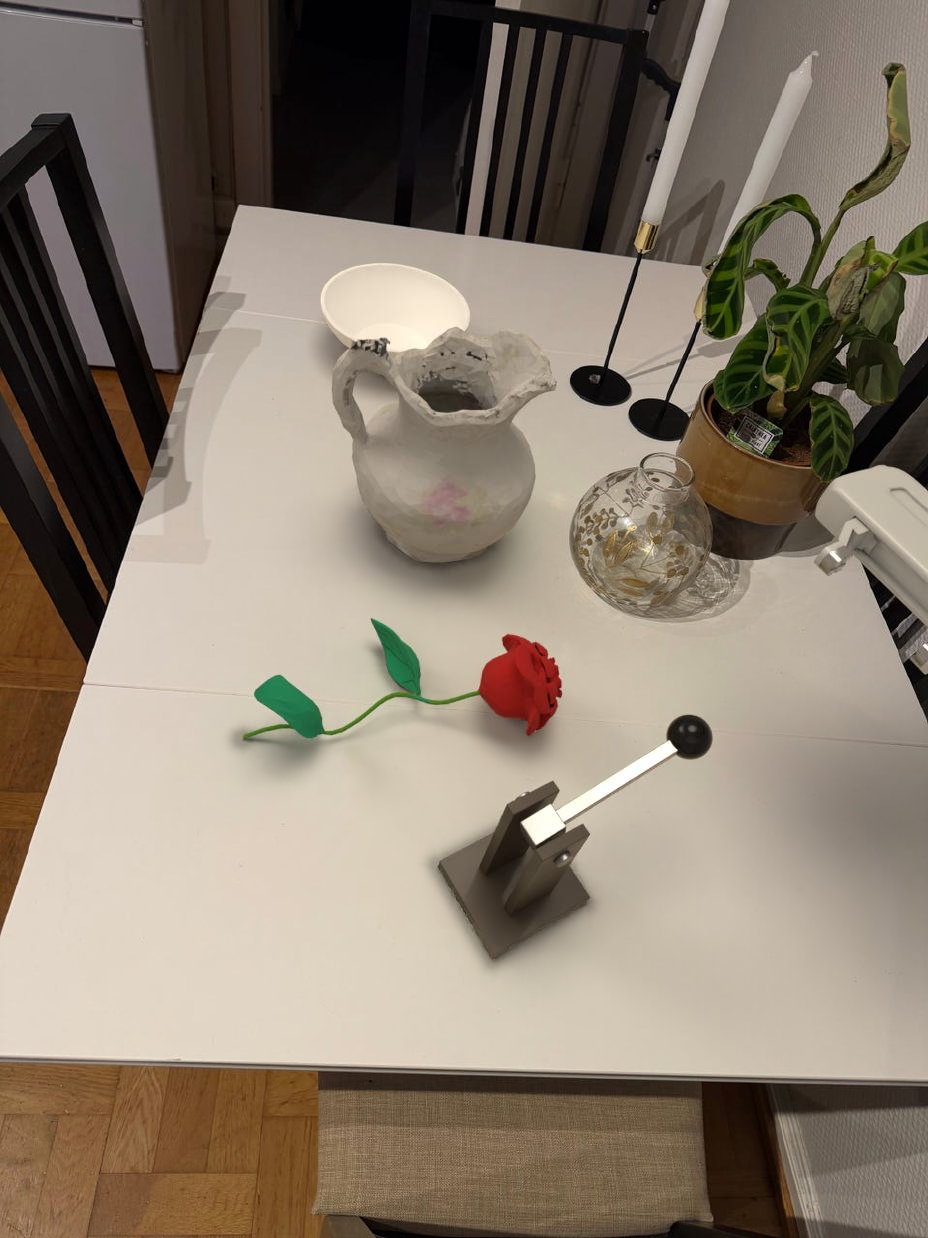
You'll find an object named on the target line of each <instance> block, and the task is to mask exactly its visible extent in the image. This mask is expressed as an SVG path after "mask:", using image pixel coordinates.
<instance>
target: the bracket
mask: <svg viewBox="0 0 928 1238" xmlns="http://www.w3.org/2000/svg"><path fill="white" fill-rule="evenodd" d="M560 792H561V790H560V788H559V786H557V783H556V782H555V781H554V780H551V781H548V782H546V783H545V784H543V785H541V786H539V787H537V788H535V789H533V790H532V791H525V792H523V793H521V794H519V795H518V796H517V797H516V798H515V799H514V800H512V801H511V802H508V803H506V805H505V807H504V810H503V812H502V814H501V816H500V818H499V821H498V823H497V825H496V828H495V830H494V831H493V832H492V833H490V834H488V835H486V836H484V837H482V838H480V839H478V840H477V841H475V842H472V843H471V844H469V845H467V846H465V847H463V848H461V849H459V850H458V851H456V852H454V853H451V854H450V855H448V856H447V857H444V858H442V859H441V860H439V862H438V865H437V867H438V869H439V870H440V872H441V874H442V875H443V877H444V879H445V881H446V882H447V884H448V886H449V887H450V889H451V891H452V893H453V894H454V896H455V898H456V899H457V901H458V903H459V905H460V906H461V908H462V910H463V911H464V913H465V915H466V916H467V919H468V920H469V923H471V925H472V927H473V929H474V930H475V932H476V934H477V936H478V937H479V939H480V940H481V942H482V944H483V946H484V947H485V949H486V951H487V953H488V955H489V956H490V958H491V959H492V960H493V959H495V958H496V957H498V956H499V955H501V954H503V953H505V952H506V951H508V950H510V949H511V948H513V947H515V946H516V945H518V944H520V943H521V942H523V941H525V940H526V939H528V938H529V937H531V936H533V935H534V934H536V933H538V932H540V931H541V930H543V929H545V928H546V927H548V926H550V925H551V924H553V923H555V922H556V921H558V920H560V919H561V918H562V917H563V918H564V916H566V915H568V914H570V913H571V912H573V911H575V910H576V909H578V908H579V907H581V906H583V905H585V904H586V903H588V902H589V900H590V898H591V896H590V894H589V893H588V891H587V890H586V888H585V887H584V885H583V884H582V882H581V881H580V880H579V878H578V877H577V875H576V874H575V872H574V871H573V869H572V867H571V866H570V865H571V864H572V862H573V861H574V859H575V858H576V856H577V855H578V854H579V852H580V850H582V847H583V846H584V844H585V843H586V841H587V840H588V839H589V837H590V836H591V833H590V831H589V830H588V829H587V827H586V825H585V824H584V823H581V824H578V825H577V826H575V827H573V828H571V829H570V830H568V831H566V833H564V834H563V835H561V836H559V837H557V838H555V839H554V840H552V841H550V842H548V843H546V844H545V845H543V846H541V847H539V848H537V849H536V850H535V852H534V851H533V850H532V848H531V847H530V845H529V844H528V842H527V841H526V839H525V837H524V836H523V834H522V833H521V831H520V822H521V821H523V820H524V819H526V818H527V817H529V816H531V815H532V814H534V813H535V812H537V811H539V810H540V809H542V808H543V807H545V806H547V805H548V804H550V803H551V804H552V805H553V804H554V802H555V801H556V799H557V797H558V795H559V793H560Z"/></svg>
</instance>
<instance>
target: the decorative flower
mask: <svg viewBox="0 0 928 1238" xmlns="http://www.w3.org/2000/svg"><path fill="white" fill-rule="evenodd" d="M370 622H371V624H372V626H373V628H374V630H375V633H376V634H377V637H378V639H379V641H380V643H381V647H382V649H383V652H384V656H385V663H386V668H387V671H388V674H389V675H390V677H391V679H393V681H395V682H396V683H397V684H398V685H400V686H402V687H403V688H405V689H406V690H407V691H408V692H404V691H397V692H392V693H389V694H387V695H385V696H384V697H382V698H380V699H379V700H377V701H376V702H375V703H374V704H373V705H371V706H370V707H369V708H368V709H366V711H364V712H363V713H362V714H360V715H359V716H357V718H355V719H353V720H352V721H351V722H349V723H347V724H345V725H343V726H342V727H340V728H336V729H333V730H325V728H324V725H323V716H322V713H321V710H320V707H319V706H318V705H317V704H316V703H315V702H314V701H313V700H312V699H311V698H310V697H308V696H307V694H305V693H304V692H303V691H301V690H300V689H299V688H297V687H296V686H295V685H293V684H292V683H291V682H290V681H289V680H287V678H286V677H284V676H283V675H281V674H275V675H274V676H272V677H271V676H270V677H269V678H268V679H266V680H265V681H264V682H263V683H262V684H260V685H259V686H258V687H257V688H256V689H254V692H253V696H254V698H255V699H256V701H257V702H258V703H260V704H262V705H263V706H265V707H266V708H267V709H269V710H271V711H272V712H274V713H275V714H276V715H278V716H279V717H280V718H282V719H283V720H284V721H285V722H286V723H278V724H273V725H269V726H264V727H261V728H259V729H255V730H253V731H249V732H247V733H245V734H243V735H242V740H245V739H249V738H251V737H254V736H257V735H260V734H263V733H267V732H272V731H276V730H277V731H278V730H284V729H285V730H286V729H288V730H289V729H290V730H294V731H296V733H298V734H299V735H300V736H301V737H302V738H305V739H316V738H317V737H318V736H319V735H320V736H321V735H325V736H335V735H338V734H342V733H344V732H345V731H347V730H349V729H351V728H352V727H354V726H355V725H357V724H358V723H361V722H362V721H363V720H364V719H365V718H366V717H367V716H369V715H371V713H372V712H374V711H375V710H376V709H377V708H378V707H380V706H381V705H383V704H384V703H386V702H387V701H389V700H392V699H395V698H409V699H412V700H416V701H418V702H422V703H424V704H428V705H432V706H441V705H450V704H452V703H456V702H460V701H462V700H466V699H469V698H473V697H477V696H479V697H481V699H482V700H483V701H484V702H485V703H486V704H487V706H488V707H489V708H490V709H491V710H492V711H493V713H494V714H495V715H497V716H499V717H502V718H503V719H515V720H516V719H518V720H521V721H525V722H526V723H527V727H526V730H525V736H526V737H527V738H528V737H530V736H532V735H533V734H534V733H535V732H537V731H540V730H541V729H542V728H544V727H545V726H546V725H547V723H548V722H549V720H550V719H551V718H552V717H553V716H554V715H555V713H556V712H557V710H558V708H559V702H558V699H557V698H559V699H561V698H562V697H563V690H562V689H561V688H562V686H563V682H562V679H561V678H560V676H559V675H560V669H559V668H560V667H559V665H558V664H556V658H555V656H553V657H549V652H548V650H547V648H545V646H543V645H542V643H539V642H537V641H533V642H531V641H530V640H529V639H527V638H525V637H523V636H520V635H517V634H511V633H507V634H505V635H503V636H502V637H501V641H502V646H503V648H504V649H505V651H506V652H505V653H502V654H500V655H498V656H496V657H493V658H491V659H490V660H489V661H488V662H486V663H485V665H484V667H483V669H482V670H481V677H480V682H479V687H478V689H477V690H475V691H471V692H467V693H465V694H462V695H458V696H455V697H451V698H448V699H441V700H440V699H439V700H438V699H436V700H435V699H428V698H425V697H423V696H422V695H421V693H422V689H421V666H420V659H419V658H418V655H417V654H416V652H415V651H414V650H413V648H412V647H411V646H410V645H408V644H407V643H406V642H405V641H403V640H402V639H401V637H400V636H399V635H398V634H397V633H396V631H394V630H393V629H392V628H391V627H389V626H388V625H386V624H385V623H383V622H380V621H379V620H377V619H375V618H372V617H370ZM548 657H549V658H548Z"/></svg>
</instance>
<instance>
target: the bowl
mask: <svg viewBox="0 0 928 1238" xmlns="http://www.w3.org/2000/svg"><path fill="white" fill-rule="evenodd" d="M319 302H320V307H321V311H322V315H323V318H324V320H325V322H326V324H327V326H328V328H329V329H330V331H331V332H332V333H333V334H334V336H335V337H336V338H337V339H338V340H339V341H340V342H341V343H342V344H343V345H344V346H345V347H347V348H348V349H349V348H350V347H351V344H352V341H354V342H356V341H357V340H358V339H361V340H365V339H380V337H381V338H387V339H388V340H389V341H390V345H389V343H388V344H387V352H388V354H389V355H390V357H391V359H393V358H394V357H395V356H396V355H397V354H398V353H400V352H403V351H406V350H409V349H414V348H417V349H425V348H427V347H428V345H429V344H430V343H431V342H432V341H433V340H434V339H435V338H437V337H438V336H440V335H441V334H443V333H444V332H445V331H446V330H448V329H450V328H453V327H458V328H460V329H462V330H463V331H465V332H466V333H467V331H468V328H469V326H470V322H471V309H470V307H469V304H468V302H467V300H466V299H465V297H464V296H463V295H462V293H461V292H460V291H459V290H458V289H457V288H456V287H455V286H454V285H452V284H451V283H450V282H448V281H447V280H445V279H444V278H442V277H440V276H438V275H436V274H434V273H432V272H429V271H427V270H424V269H421V268H418V267H414V266H410V265H406V264H399V263H391V262H390V263H389V262H388V263H385V262H375V263H366V264H365V263H364V264H359V265H355V266H352V267H349V268H346V269H343V270H342V271H340V272H338V273H336V274H335V275H333V276H332V277H330V279H329V280H328V281H327V282H326V283H324V286H323V288H322V290H321V292H320V300H319ZM358 341H359V340H358Z"/></svg>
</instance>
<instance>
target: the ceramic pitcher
mask: <svg viewBox="0 0 928 1238" xmlns="http://www.w3.org/2000/svg"><path fill="white" fill-rule="evenodd" d="M358 340H359V341H358ZM358 340H357V341H356V342H354V341H352V344H351V347H350V348H348V349H346V350H345V351H344V352H343V353H342V354H341V355H340V356H339V357H338V358H337V360H336V362H335V364H334V367H333V370H332V372H331V373H332V375H331V398H332V404H333V407H334V409H335V411H336V413H337V415H338V417H339V420H340V422H341V425H342V427H343V429H345V430H346V431H347V432H348V433H349V434H350V438H351V439H352V446H351V447H352V453H351V460H352V464H353V467H354V472H355V476H356V483H357V487H358V492H359V495H360V498H361V500H362V502H363V505H364V506H365V508H366V510H367V511H368V513H369V514H370V515H371V516H372V517H373V519H374V520H375V521H376V522H377V524H378V525H379V526H380V527H381V528H382V529H383V530H384V532H385V538H386V539H387V541H389V543H391V544H392V545H393V546H395V547H396V548H397V549H398V550H399V551H401V552H402V553H404V554H405V555H406V556H407V557H409V558H410V559H411V560H413V561H414V562H421V563H422V562H423V563H449V562H456V561H462V560H468V559H471V558H477V557H479V556H480V555H481V554H483V553H484V552H485V551H486V550H488V549H490V548H491V546H492V544H494V543H495V542H497V541H498V540H500V538H502V537H504V536H505V535H506V534H507V533H509V532H510V531H511V530H512V529H513V528H514V527H515V525H516V524H517V523H518V521H519V520H520V518H521V517H522V515H523V514H524V512H525V511H526V508H527V507H528V505H529V502H530V500H531V497H532V494H533V491H534V487H535V484H536V483H535V482H536V476H537V475H536V463H535V460H534V456H533V453H532V448H531V445H530V444H529V442H528V440H527V438H526V436H525V434H524V432H522V430H521V429H520V428H519V427H518V426H517V425H516V424H515V423H514V422H513V420H514V418H515V417H516V416H517V414H518V413H519V412H520V411H521V410H522V409H523V408H524V407H525V406H526V405H527V404H528V403H529V402H531V401H532V400H533V399H536V397H538V396H540V395H542V394H545V393H548V392H553V391H557V390H556V389H557V380H556V379H555V378H554V376H553V375H552V373H553V372H552V371H551V364H550V363H551V362H550V360H549V358H548V356H547V354H546V353H545V352H544V351H543V349H542V348H541V347H540V346H539V345H538V344H537V342H536V341H535V340H534V339H533V338H532V337H531V335H530V334H528V333H524V332H521V331H517V330H508V329H507V330H502V331H501V330H500V331H499V332H497V333H495V334H494V335H492V336H489V337H486V338H481V337H479V336H476V335H473V334H470V333H468V332H467V331H466V332H465V331H463V330H462V329H460V328H458V327H453V328H450V329H448V330H446V331H445V332H444V333H443V334H441V335H440V336H438V337H437V338H435V339H434V340H433V341H432V342H431V343H430V344H429V345H428V347H427V348H425V349H417V348H414V349H409V350H406V351H403V352H400V353H398V354H397V355H396V356H395V357H394V358H393V359H391V357H390V355H389V354H388V352H387V344H388V343H389V345H390V341H389V340H388V339H387V338H381V337H380V339H365V340H361V339H358ZM364 372H369V373H372V374H373V373H374V374H377V375H381V376H384V378H385V379H386V380H387V381H388V382H389V384H390V385H391V386H392V388H393V389H394V390H395V391H396V392H397V394H398V400H396V401H394V402H392V403H390V404H387V405H385V406H384V407H382V408H381V409H380V410H378V411H377V412H376V413H375V414H374V415H373V416H372V417H371V418H370V419H369V420H368V421H367V423H365V420H364V416H363V413H362V411H361V409H360V407H359V405H358V403H357V402H356V399H355V397H354V395H353V394H354V387H355V383H356V378H357V376H359V374H362V373H364Z"/></svg>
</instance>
